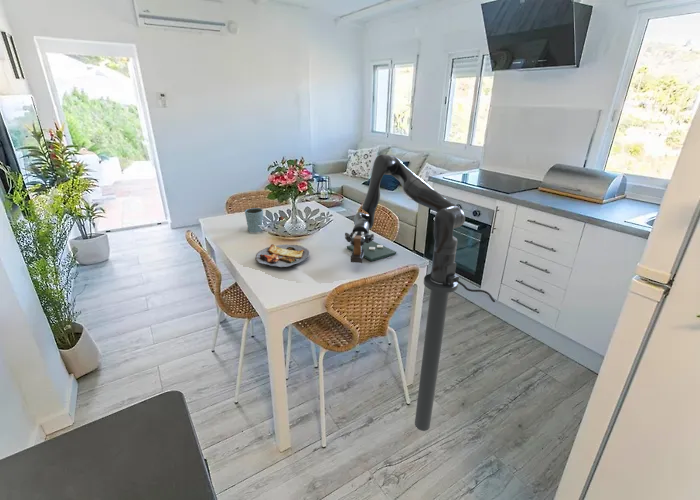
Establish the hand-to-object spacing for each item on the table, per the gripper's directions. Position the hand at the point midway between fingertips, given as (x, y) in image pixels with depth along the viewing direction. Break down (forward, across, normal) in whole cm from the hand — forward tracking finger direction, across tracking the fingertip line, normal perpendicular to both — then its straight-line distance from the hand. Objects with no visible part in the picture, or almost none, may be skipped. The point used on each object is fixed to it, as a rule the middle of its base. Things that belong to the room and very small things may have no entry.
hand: (357, 243), depth 150 cm
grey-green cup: (-45, -64, +12) cm, 79 cm away
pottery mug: (-51, -49, +13) cm, 72 cm away
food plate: (-8, -36, +13) cm, 39 cm away
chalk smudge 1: (-24, +5, +12) cm, 27 cm away
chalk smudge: (-27, +9, +12) cm, 31 cm away
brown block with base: (-3, 0, +8) cm, 8 cm away
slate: (-24, +5, +13) cm, 28 cm away
